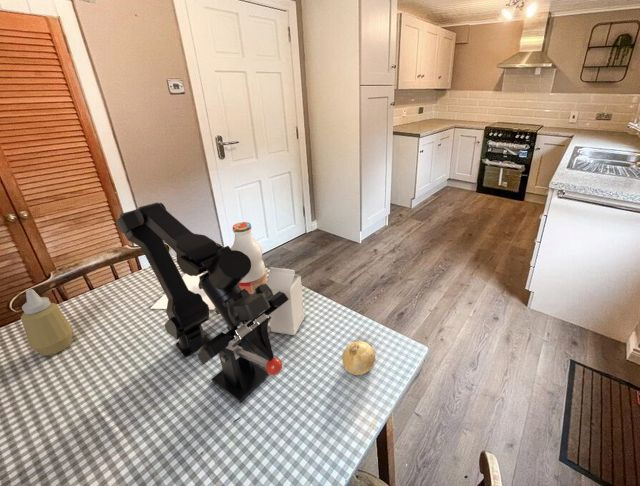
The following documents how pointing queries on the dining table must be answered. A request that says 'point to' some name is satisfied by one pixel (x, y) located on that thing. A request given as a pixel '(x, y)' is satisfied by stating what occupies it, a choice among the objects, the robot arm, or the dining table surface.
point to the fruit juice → (253, 251)
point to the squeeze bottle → (45, 325)
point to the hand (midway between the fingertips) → (271, 359)
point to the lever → (257, 359)
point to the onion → (358, 358)
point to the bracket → (238, 375)
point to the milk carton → (292, 310)
